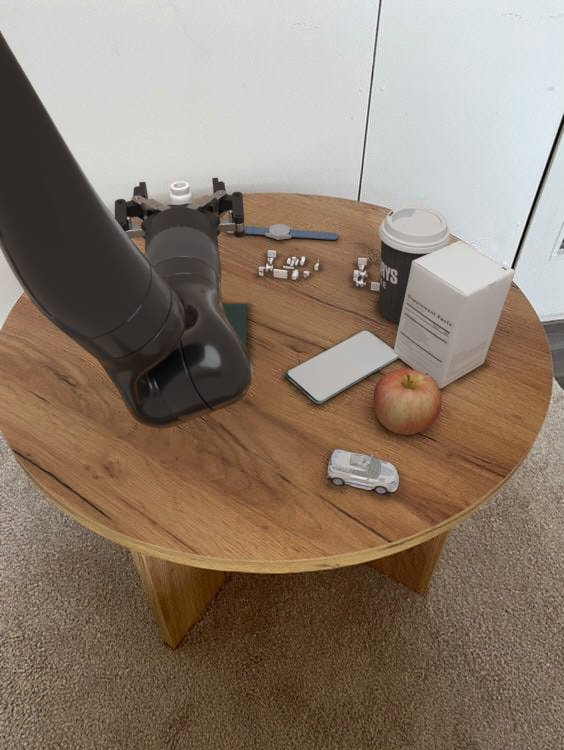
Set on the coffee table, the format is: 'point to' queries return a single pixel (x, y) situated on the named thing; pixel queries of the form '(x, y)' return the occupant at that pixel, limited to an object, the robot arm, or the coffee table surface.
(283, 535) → the coffee table surface
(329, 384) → the smartphone
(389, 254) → the coffee cup
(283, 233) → the wristwatch
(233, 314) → the mat
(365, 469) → the toy car
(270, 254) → the miniature furniture
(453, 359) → the white product box
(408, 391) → the apple
